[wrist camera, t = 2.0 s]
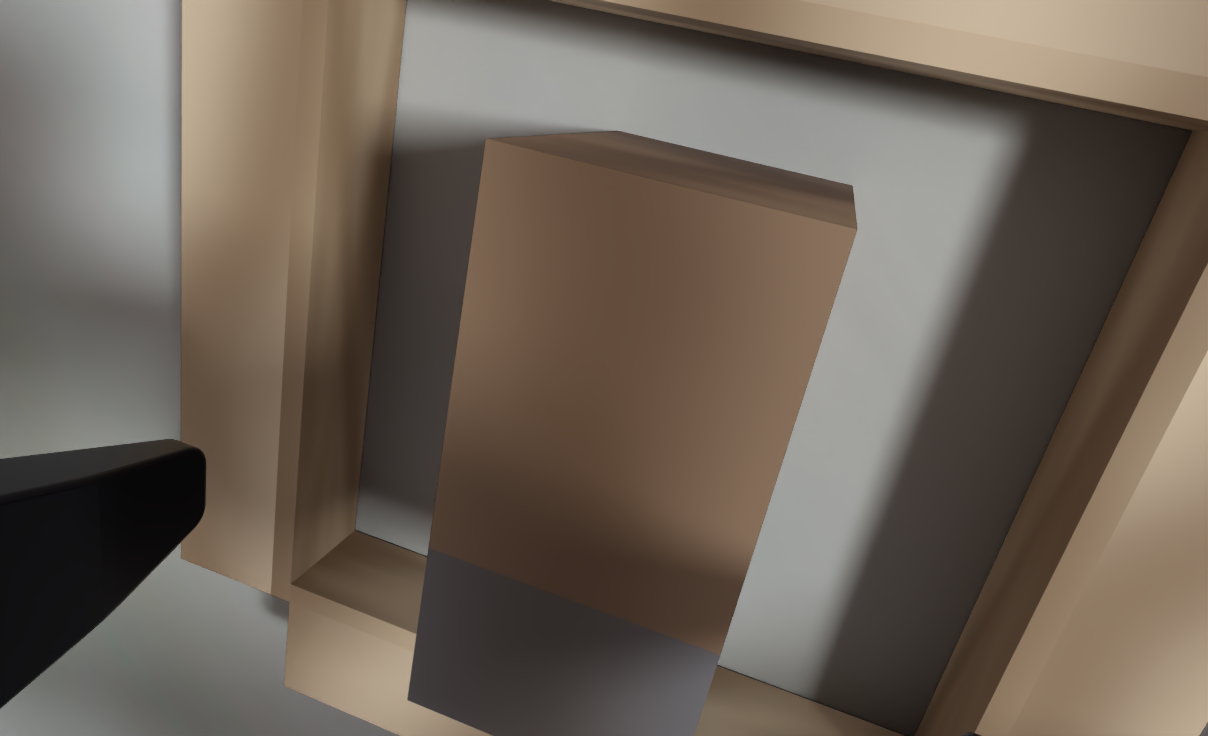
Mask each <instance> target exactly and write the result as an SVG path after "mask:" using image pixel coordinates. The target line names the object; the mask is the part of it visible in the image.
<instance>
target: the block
mask: <svg viewBox="0 0 1208 736" xmlns="http://www.w3.org/2000/svg"><path fill="white" fill-rule="evenodd" d="M856 232H857V222H856V213H855V203H854V194H853V186H852V185H847V184H843V183H839V182H834V181H830V180H826V179H822V178H817V177H813V176H809V175H804V174H800V173H796V172H792V171H787V170H783V169H779V168H775V167H770V166H766V165H762V164H757V163H753V162H749V161H745V160H740V159H736V158H732V157H728V156H723V155H719V154H715V153H710V152H706V151H702V150H698V149H693V148H689V147H685V146H680V145H676V144H672V143H668V142H663V141H659V140H655V139H651V138H646V137H642V136H638V135H633V134H629V133H625V132H621V131H609V132H592V133H574V134H557V135H540V136H523V137H506V138H489V139H486V142H485V149H484V157H483V164H482V171H481V178H480V185H479V192H478V199H477V206H476V213H475V221H474V228H473V235H472V242H471V249H470V256H469V263H468V270H467V278H466V285H465V292H464V299H463V306H462V313H461V320H460V327H459V335H458V342H457V349H456V356H455V363H454V370H453V377H452V384H451V392H450V399H449V406H448V413H447V420H446V427H445V434H444V441H443V449H442V456H441V463H440V470H439V477H438V484H437V491H436V498H435V506H434V513H433V520H432V527H431V534H430V541H429V548H428V555H427V563H426V570H425V577H424V584H423V591H422V598H421V605H420V612H419V620H418V627H417V634H416V641H415V648H414V655H413V662H412V669H411V677H410V684H409V691H408V698H407V700H408V701H411V702H413V703H415V704H418V705H420V706H423V707H425V708H427V709H430V710H432V711H435V712H437V713H439V714H442V715H444V716H447V717H449V718H451V719H454V720H456V721H459V722H461V723H463V724H466V725H468V726H471V727H473V728H475V729H478V730H480V731H483V732H485V733H487V734H490V735H492V736H694V735H695V732H696V729H697V725H698V722H699V719H700V716H701V713H702V710H703V707H704V704H705V701H706V698H707V694H708V691H709V688H710V685H711V682H712V679H713V676H714V673H715V670H716V667H717V663H718V660H719V657H720V654H721V651H722V648H723V645H724V642H725V639H726V635H727V632H728V629H729V626H730V623H731V620H732V617H733V614H734V611H735V608H736V604H737V601H738V598H739V595H740V592H741V589H742V586H743V583H744V580H745V577H746V573H747V570H748V567H749V564H750V561H751V558H752V555H753V552H754V549H755V546H756V542H757V539H758V536H759V533H760V530H761V527H762V524H763V521H764V518H765V514H766V511H767V508H768V505H769V502H770V499H771V496H772V493H773V490H774V487H775V483H776V480H777V477H778V474H779V471H780V468H781V465H782V462H783V459H784V456H785V452H786V449H787V446H788V443H789V440H790V437H791V434H792V431H793V428H794V425H795V421H796V418H797V415H798V412H799V409H800V406H801V403H802V400H803V397H804V393H805V390H806V387H807V384H808V381H809V378H810V375H811V372H812V369H813V366H814V362H815V359H816V356H817V353H818V350H819V347H820V344H821V341H822V338H823V335H824V331H825V328H826V325H827V322H828V319H829V316H830V313H831V310H832V307H833V304H834V300H835V297H836V294H837V291H838V288H839V285H840V282H841V279H842V276H843V272H844V269H845V266H846V263H847V260H848V257H849V254H850V251H851V248H852V245H853V241H854V238H855V235H856Z"/></svg>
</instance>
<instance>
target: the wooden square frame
mask: <svg viewBox="0 0 1208 736" xmlns="http://www.w3.org/2000/svg"><path fill="white" fill-rule="evenodd" d="M548 1H553V2H558V3H563V4H568V5H573V6H578V7H582V8H587V9H592V10H597V11H602V12H607V13H612V14H617V15H622V16H627V17H632V18H637V19H642V20H647V21H652V22H657V23H662V24H667V25H672V26H677V27H682V28H687V29H692V30H697V31H702V32H707V33H712V34H716V35H721V36H726V37H731V38H736V39H741V40H746V41H751V42H756V43H761V44H766V45H771V46H776V47H781V48H786V49H791V50H796V51H801V52H806V53H811V54H816V55H821V56H826V57H831V58H836V59H841V60H846V61H850V62H855V63H860V64H865V65H870V66H875V67H880V68H885V69H890V70H895V71H900V72H905V73H910V74H915V75H920V76H925V77H930V78H935V79H940V80H945V81H950V82H955V83H960V84H965V85H970V86H975V87H980V88H984V89H989V90H994V91H999V92H1004V93H1009V94H1014V95H1019V96H1024V97H1029V98H1034V99H1039V100H1044V101H1049V102H1054V103H1059V104H1064V105H1069V106H1074V107H1079V108H1084V109H1089V110H1094V111H1099V112H1104V113H1109V114H1114V115H1118V116H1123V117H1128V118H1133V119H1138V120H1143V121H1148V122H1153V123H1158V124H1163V125H1168V126H1173V127H1178V128H1183V129H1188V130H1193V131H1192V134H1191V136H1190V138H1189V140H1188V142H1187V144H1186V147H1185V149H1184V151H1183V153H1182V155H1181V157H1180V160H1179V162H1178V164H1177V166H1176V168H1175V171H1174V173H1173V175H1172V177H1171V179H1170V181H1169V184H1168V186H1167V188H1166V190H1165V192H1164V194H1163V197H1162V199H1161V201H1160V203H1159V205H1158V207H1157V210H1156V212H1155V214H1154V216H1153V218H1152V221H1151V223H1150V225H1149V227H1148V229H1147V231H1146V234H1145V236H1144V238H1143V240H1142V242H1141V244H1140V247H1139V249H1138V251H1137V253H1136V255H1135V257H1134V260H1133V262H1132V264H1131V266H1130V268H1129V271H1128V273H1127V275H1126V277H1125V279H1124V281H1123V284H1122V286H1121V288H1120V290H1119V292H1118V294H1117V297H1116V299H1115V301H1114V303H1113V305H1112V308H1111V310H1110V312H1109V314H1108V316H1107V318H1106V321H1105V323H1104V325H1103V327H1102V329H1101V331H1100V334H1099V336H1098V338H1097V340H1096V342H1095V344H1094V347H1093V349H1092V351H1091V353H1090V355H1089V358H1088V360H1087V362H1086V364H1085V366H1084V368H1083V371H1082V373H1081V375H1080V377H1079V379H1078V381H1077V384H1076V386H1075V388H1074V390H1073V392H1072V395H1071V397H1070V399H1069V401H1068V403H1067V405H1066V408H1065V410H1064V412H1063V414H1062V416H1061V418H1060V421H1059V423H1058V425H1057V427H1056V429H1055V431H1054V434H1053V436H1052V438H1051V440H1050V442H1049V445H1048V447H1047V449H1046V451H1045V453H1044V455H1043V458H1042V460H1041V462H1040V464H1039V466H1038V468H1037V471H1036V473H1035V475H1034V477H1033V479H1032V482H1031V484H1030V486H1029V488H1028V490H1027V492H1026V495H1025V497H1024V499H1023V501H1022V503H1021V505H1020V508H1019V510H1018V512H1017V514H1016V516H1015V518H1014V521H1013V523H1012V525H1011V527H1010V529H1009V532H1008V534H1007V536H1006V538H1005V540H1004V542H1003V545H1002V547H1001V549H1000V551H999V553H998V555H997V558H996V560H995V562H994V564H993V566H992V569H991V571H990V573H989V575H988V577H987V579H986V582H985V584H984V586H983V588H982V590H981V592H980V595H979V597H978V599H977V601H976V603H975V605H974V608H973V610H972V612H971V614H970V616H969V619H968V621H967V623H966V625H965V627H964V629H963V632H962V634H961V636H960V638H959V640H958V642H957V645H956V647H955V649H954V651H953V653H952V656H951V658H950V660H949V662H948V664H947V666H946V669H945V671H944V673H943V675H942V677H941V679H940V682H939V684H938V686H937V688H936V690H935V692H934V695H933V697H932V699H931V701H930V703H929V706H928V708H927V710H926V712H925V714H924V716H923V719H922V721H921V723H920V725H919V727H918V729H917V732H916V734H915V736H961V735H962V734H964V733H967V732H973V733H976V734H979V735H981V736H1199V735H1200V734H1201V732H1202V730H1203V729H1204V727H1205V726H1206V724H1207V723H1208V0H548ZM406 3H407V0H182V213H181V442H184V443H186V444H189V445H192V446H194V447H197V448H199V449H200V450H201V451H203V453H204V455H205V457H206V507H205V511H204V515H203V517H202V519H201V521H200V522H199V524H198V525H197V526H196V527H195V529H194V530H193V531H192V532H191V533H190V534H189V535H188V536H187V537H186V538H185V539H184V540H183V541H182V542H181V559H184V560H186V561H189V562H191V563H194V564H196V565H199V566H201V567H204V568H206V569H209V570H211V571H214V572H216V573H219V574H221V575H224V576H226V577H229V578H231V579H233V580H236V581H238V582H241V583H243V584H246V585H248V586H251V587H253V588H256V589H258V590H261V591H263V592H266V593H268V594H271V595H273V596H276V597H278V598H281V599H283V600H286V601H288V602H289V616H288V631H287V647H286V662H285V678H284V686H285V687H288V688H290V689H292V690H295V691H297V692H299V693H302V694H304V695H306V696H309V697H311V698H313V699H316V700H318V701H320V702H323V703H325V704H327V705H330V706H332V707H334V708H337V709H339V710H341V711H344V712H346V713H348V714H351V715H353V716H355V717H358V718H360V719H362V720H365V721H367V722H369V723H372V724H374V725H376V726H379V727H381V728H383V729H386V730H388V731H390V732H393V733H395V734H397V735H400V736H492V735H490V734H487V733H485V732H483V731H480V730H478V729H475V728H473V727H471V726H468V725H466V724H463V723H461V722H459V721H456V720H454V719H451V718H449V717H447V716H444V715H442V714H439V713H437V712H435V711H432V710H430V709H427V708H425V707H423V706H420V705H418V704H415V703H413V702H411V701H408V700H407V698H408V691H409V684H410V677H411V669H412V662H413V655H414V648H415V641H416V634H417V627H418V620H419V612H420V605H421V598H422V591H423V584H424V577H425V570H426V563H427V557H425V556H422V555H420V554H417V553H414V552H411V551H409V550H406V549H403V548H401V547H398V546H395V545H393V544H390V543H387V542H385V541H382V540H379V539H377V538H374V537H371V536H369V535H366V534H363V533H361V532H358V531H355V523H356V513H357V503H358V493H359V482H360V472H361V462H362V452H363V442H364V431H365V421H366V411H367V401H368V391H369V380H370V370H371V360H372V350H373V340H374V330H375V319H376V309H377V299H378V289H379V279H380V268H381V258H382V248H383V238H384V228H385V217H386V207H387V197H388V187H389V177H390V167H391V156H392V146H393V136H394V126H395V116H396V105H397V95H398V85H399V75H400V65H401V54H402V44H403V34H404V24H405V14H406ZM694 736H905V735H902V734H899V733H897V732H894V731H891V730H889V729H886V728H883V727H880V726H878V725H875V724H872V723H870V722H867V721H864V720H862V719H859V718H856V717H854V716H851V715H848V714H846V713H843V712H840V711H838V710H835V709H832V708H830V707H827V706H824V705H822V704H819V703H816V702H813V701H811V700H808V699H805V698H803V697H800V696H797V695H795V694H792V693H789V692H787V691H784V690H781V689H779V688H776V687H773V686H771V685H768V684H765V683H763V682H760V681H757V680H755V679H752V678H749V677H746V676H744V675H741V674H738V673H736V672H733V671H730V670H728V669H725V668H722V667H720V666H717V667H716V670H715V673H714V676H713V679H712V682H711V685H710V688H709V691H708V694H707V698H706V701H705V704H704V707H703V710H702V713H701V716H700V719H699V722H698V725H697V729H696V732H695V735H694Z"/></svg>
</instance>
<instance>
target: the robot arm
mask: <svg viewBox="0 0 1208 736" xmlns="http://www.w3.org/2000/svg"><path fill="white" fill-rule="evenodd" d="M205 507H206V457H205V455H204V453H203V451H201V450H200V449H199V448H197V447H194V446H192V445H189V444H186V443H184V442H181V441H178V440H174V439H165V440H156V441H148V442H139V443H131V444H123V445H114V446H106V447H97V448H89V449H81V450H72V451H64V452H55V453H47V454H39V455H30V456H22V457H13V458H5V459H0V709H1V708H2V707H3V706H4V705H5V704H6V703H8V702H9V701H10V700H11V699H12V698H13V697H15V696H16V695H17V694H18V693H19V692H20V691H22V690H23V689H24V688H25V687H26V686H28V685H29V684H30V683H31V682H32V681H33V680H35V679H36V678H37V677H38V676H39V675H40V674H42V673H43V672H44V671H45V670H46V669H47V668H49V667H50V666H51V665H52V664H53V663H55V662H56V661H57V660H58V659H59V658H60V657H62V656H63V655H64V654H65V653H66V652H67V651H69V650H70V649H71V648H72V647H73V646H75V645H76V644H77V643H78V642H79V641H80V640H82V639H83V638H84V637H85V636H86V635H87V634H89V633H90V632H91V631H92V630H93V629H94V628H95V627H96V626H98V625H99V624H100V623H101V622H102V621H103V620H104V619H105V618H106V617H107V616H108V615H109V614H110V613H111V612H112V611H114V610H115V609H116V608H117V607H118V606H119V605H120V604H121V603H122V602H123V601H124V600H125V599H126V598H127V597H128V596H129V595H130V594H131V593H132V592H133V591H134V590H135V589H136V587H137V586H138V585H139V584H140V583H141V582H142V581H143V580H144V579H145V578H146V577H147V576H148V575H149V574H150V573H151V572H152V571H153V570H154V569H155V568H156V567H157V566H158V565H159V564H160V563H161V562H162V561H163V560H164V559H165V558H166V557H167V556H168V555H169V554H170V553H171V552H172V551H173V550H174V549H175V548H176V547H177V546H178V545H179V544H180V543H181V542H182V541H183V540H184V539H185V538H186V537H187V536H188V535H189V534H190V533H191V532H192V531H193V530H194V529H195V527H196V526H197V525H198V524H199V522H200V521H201V519H202V517H203V515H204V511H205ZM961 736H981V735H979V734H976V733H973V732H967V733H964V734H962V735H961Z"/></svg>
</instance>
